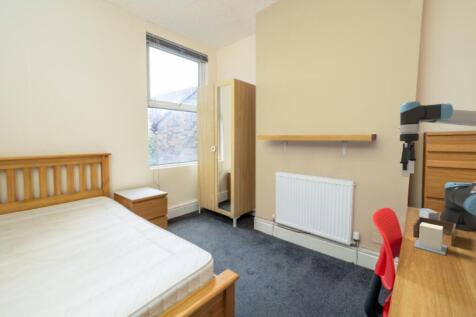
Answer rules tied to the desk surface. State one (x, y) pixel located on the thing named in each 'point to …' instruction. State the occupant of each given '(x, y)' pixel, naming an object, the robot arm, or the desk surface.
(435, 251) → the felt pad
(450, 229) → the crate
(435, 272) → the desk surface
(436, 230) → the cream block
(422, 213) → the medicine box
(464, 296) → the desk surface
